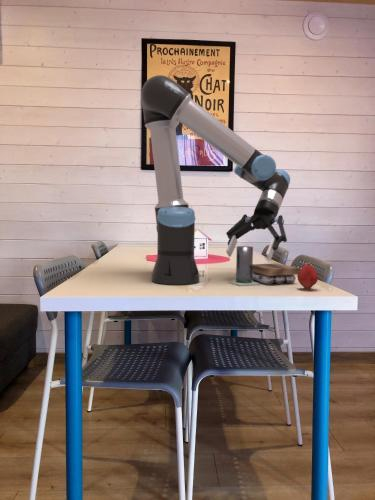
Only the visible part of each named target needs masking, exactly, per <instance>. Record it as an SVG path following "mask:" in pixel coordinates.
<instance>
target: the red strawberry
mask: <svg viewBox="0 0 375 500" xmlns="http://www.w3.org/2000/svg"><path fill="white" fill-rule="evenodd" d="M318 279H319V275H318V271H317V270H316V268H314V267H313V266H312V265H311V262H307V263H306V264H305V265H304V266H302V267H301V268H300V269H299V272H298V274H297V281H298V283H299V285H300V286H301V287H303V288H304V289H305V290H307V291H308V290H310V289H311V288H313V287H314V286H315V285H316V284H317V282H318V281H319V280H318Z"/></svg>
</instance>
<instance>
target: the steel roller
mask: <svg viewBox="0 0 375 500" xmlns="http://www.w3.org/2000/svg"><path fill="white" fill-rule="evenodd" d="M253 258H254V247H253V246H248V245H246V246H244V245H240V246H239V245H237V246H236V262H235V264H236V265H235V281H236V282H237V283H252V281H253V280H252V268H253V262H254V261H253Z"/></svg>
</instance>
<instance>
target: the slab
mask: <svg viewBox="0 0 375 500" xmlns="http://www.w3.org/2000/svg"><path fill="white" fill-rule="evenodd" d="M299 271H300V268H299V267H296V266H291V265H286V264H282V263H275V262H274V263H257V264H253V268H252V272H255V273H259V274H263V275H267V276H275V275H294V276H295V275H298V272H299Z"/></svg>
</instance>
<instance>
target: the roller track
mask: <svg viewBox="0 0 375 500" xmlns="http://www.w3.org/2000/svg"><path fill="white" fill-rule="evenodd" d="M252 281H253V282H257V283H260V284H264V285H268V286H272V285H273V283H274V284H278V285H282V284H284V283H287V284H290V283H292V284H293V283H295V282H296V276H295V274H294V275H275V276H267V275H263V274H259V273H255V272H252Z"/></svg>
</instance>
